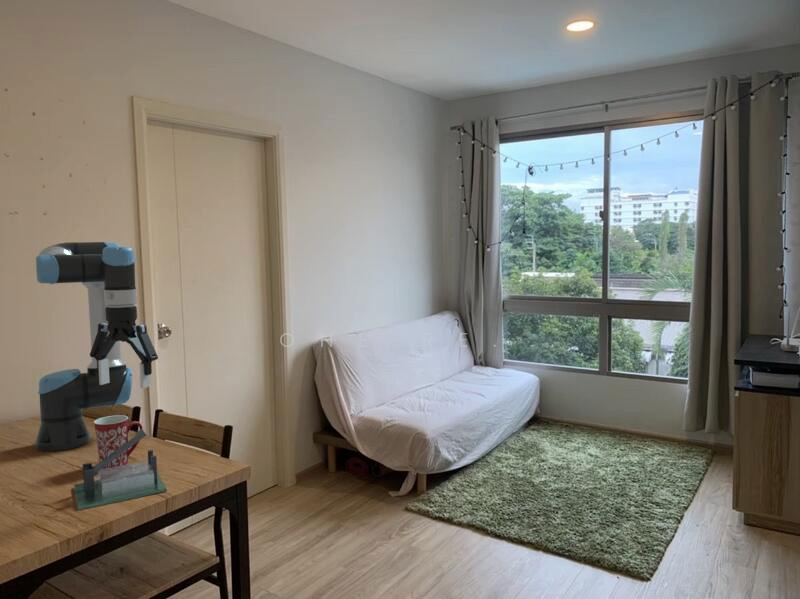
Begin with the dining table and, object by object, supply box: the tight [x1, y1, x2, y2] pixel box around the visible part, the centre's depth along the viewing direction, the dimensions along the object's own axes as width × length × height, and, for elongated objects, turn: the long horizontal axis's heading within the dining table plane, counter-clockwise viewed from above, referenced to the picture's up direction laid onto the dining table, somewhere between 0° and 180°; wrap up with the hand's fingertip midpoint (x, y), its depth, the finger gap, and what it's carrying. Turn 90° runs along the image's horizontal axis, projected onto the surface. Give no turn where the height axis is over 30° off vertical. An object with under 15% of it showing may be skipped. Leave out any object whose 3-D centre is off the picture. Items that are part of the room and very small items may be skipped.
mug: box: [93, 414, 144, 469], centre depth 172 cm, size 13×9×14 cm
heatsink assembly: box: [73, 449, 168, 511], centre depth 153 cm, size 20×16×8 cm
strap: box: [92, 428, 147, 475], centre depth 152 cm, size 17×3×2 cm
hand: (124, 385), depth 158 cm, fingers open, 13 cm apart
